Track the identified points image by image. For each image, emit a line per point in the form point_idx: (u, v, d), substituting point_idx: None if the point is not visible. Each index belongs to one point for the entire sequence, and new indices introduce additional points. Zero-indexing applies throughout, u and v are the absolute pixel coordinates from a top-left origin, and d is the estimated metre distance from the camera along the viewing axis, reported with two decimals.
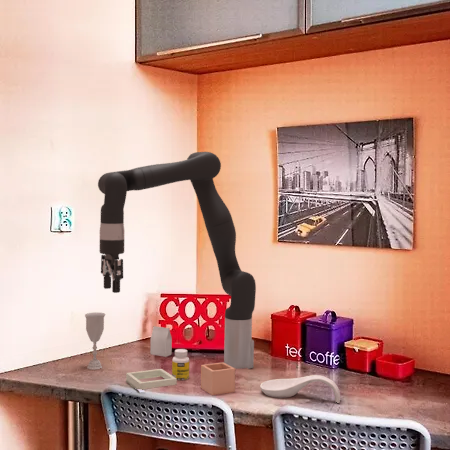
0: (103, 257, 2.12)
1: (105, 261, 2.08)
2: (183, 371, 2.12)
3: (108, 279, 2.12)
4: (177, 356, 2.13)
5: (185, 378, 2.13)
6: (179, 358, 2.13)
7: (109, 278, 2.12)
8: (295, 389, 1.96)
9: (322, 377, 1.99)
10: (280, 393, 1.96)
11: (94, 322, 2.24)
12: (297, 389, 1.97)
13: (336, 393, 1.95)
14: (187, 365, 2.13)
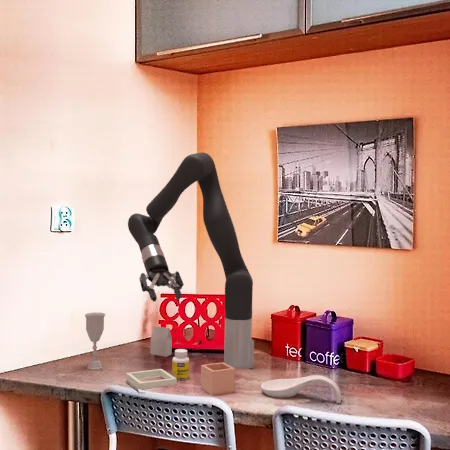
0: None
1: None
2: (183, 371, 2.12)
3: (175, 291, 2.27)
4: (177, 356, 2.13)
5: (185, 378, 2.13)
6: (179, 358, 2.13)
7: (175, 289, 2.27)
8: (296, 389, 1.96)
9: (323, 377, 1.98)
10: (281, 393, 1.96)
11: (94, 322, 2.24)
12: (298, 389, 1.97)
13: (337, 393, 1.95)
14: (187, 365, 2.13)
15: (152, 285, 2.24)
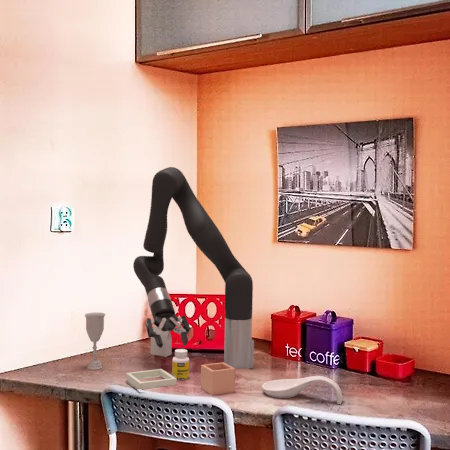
0: None
1: None
2: (183, 371, 2.12)
3: (182, 336, 2.23)
4: (177, 356, 2.13)
5: (185, 378, 2.13)
6: (179, 358, 2.13)
7: (182, 335, 2.23)
8: (296, 390, 1.96)
9: (324, 378, 1.98)
10: (281, 393, 1.95)
11: (94, 322, 2.24)
12: (299, 390, 1.96)
13: (338, 394, 1.94)
14: (187, 365, 2.13)
15: (158, 331, 2.19)
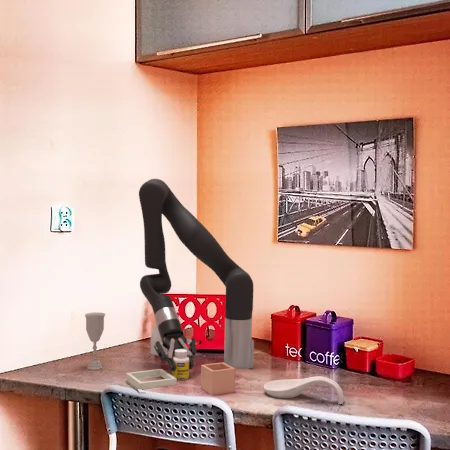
0: None
1: None
2: (183, 371, 2.12)
3: None
4: (177, 356, 2.13)
5: (185, 378, 2.13)
6: (179, 358, 2.13)
7: None
8: (297, 390, 1.96)
9: (325, 378, 1.97)
10: (282, 393, 1.95)
11: (94, 322, 2.24)
12: (300, 390, 1.96)
13: (339, 395, 1.94)
14: (187, 365, 2.13)
15: (170, 354, 2.14)
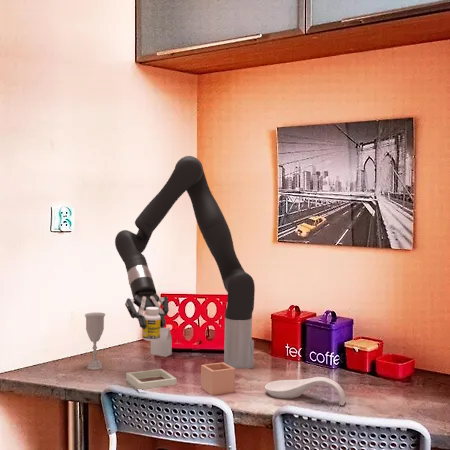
0: None
1: None
2: (153, 329, 2.07)
3: None
4: (148, 313, 2.08)
5: (156, 336, 2.08)
6: (150, 315, 2.07)
7: None
8: (298, 390, 1.95)
9: (327, 379, 1.97)
10: (283, 394, 1.95)
11: (94, 322, 2.24)
12: (301, 390, 1.96)
13: (340, 396, 1.93)
14: (158, 323, 2.08)
15: (141, 311, 2.09)
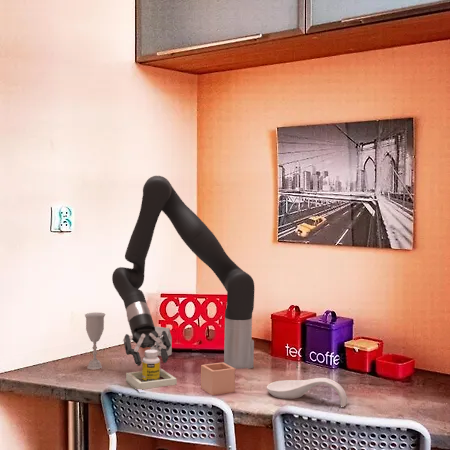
0: None
1: None
2: (153, 372, 2.08)
3: (162, 353, 2.12)
4: (147, 357, 2.08)
5: (155, 379, 2.08)
6: (149, 359, 2.08)
7: (162, 352, 2.12)
8: (299, 391, 1.95)
9: (328, 380, 1.96)
10: (284, 394, 1.95)
11: (94, 322, 2.24)
12: (302, 391, 1.95)
13: (341, 397, 1.92)
14: (157, 366, 2.09)
15: (137, 348, 2.09)
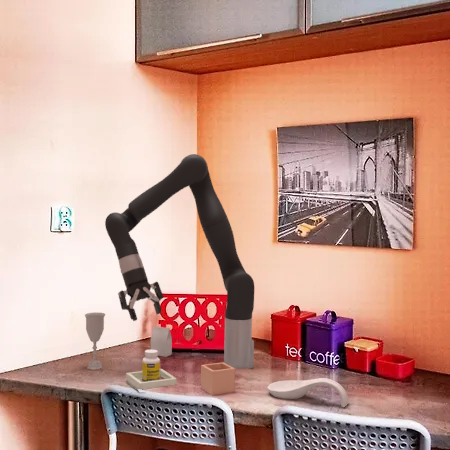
0: None
1: None
2: (153, 372, 2.08)
3: (155, 305, 2.23)
4: (147, 357, 2.08)
5: (155, 379, 2.08)
6: (149, 359, 2.08)
7: (155, 304, 2.23)
8: (300, 391, 1.95)
9: (329, 380, 1.95)
10: (285, 394, 1.95)
11: (94, 322, 2.24)
12: (303, 391, 1.95)
13: (342, 397, 1.92)
14: (157, 366, 2.09)
15: (132, 304, 2.19)
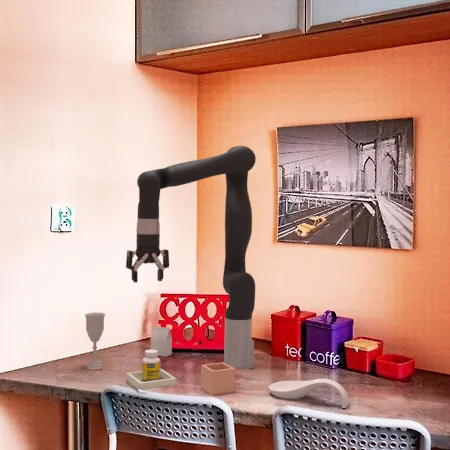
0: None
1: None
2: (153, 372, 2.08)
3: (159, 272, 2.24)
4: (147, 357, 2.08)
5: (155, 379, 2.08)
6: (149, 359, 2.08)
7: (159, 271, 2.24)
8: (301, 391, 1.94)
9: (330, 381, 1.95)
10: (285, 394, 1.95)
11: (94, 322, 2.24)
12: (303, 391, 1.95)
13: (342, 398, 1.91)
14: (157, 366, 2.09)
15: (137, 267, 2.19)
